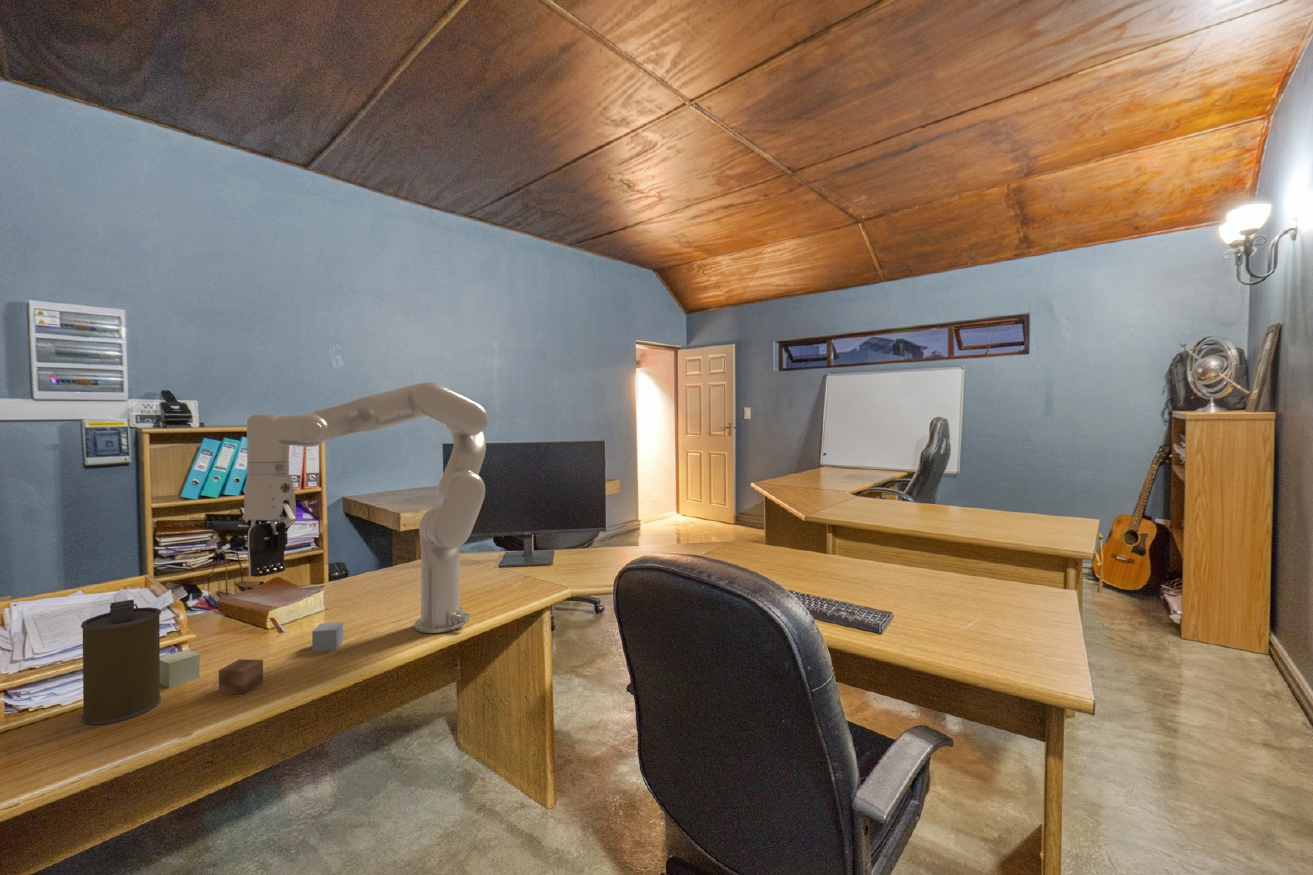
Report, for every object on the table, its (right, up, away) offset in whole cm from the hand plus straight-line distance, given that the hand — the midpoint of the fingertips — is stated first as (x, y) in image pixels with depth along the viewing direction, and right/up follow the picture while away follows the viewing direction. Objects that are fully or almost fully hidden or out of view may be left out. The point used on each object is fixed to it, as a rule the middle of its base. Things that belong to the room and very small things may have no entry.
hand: (269, 549), depth 118 cm
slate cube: (+8, -25, +8) cm, 28 cm away
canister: (-13, -26, -20) cm, 35 cm away
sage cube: (-12, -25, -9) cm, 29 cm away
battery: (0, -6, 0) cm, 6 cm away
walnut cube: (+3, -26, -12) cm, 28 cm away
